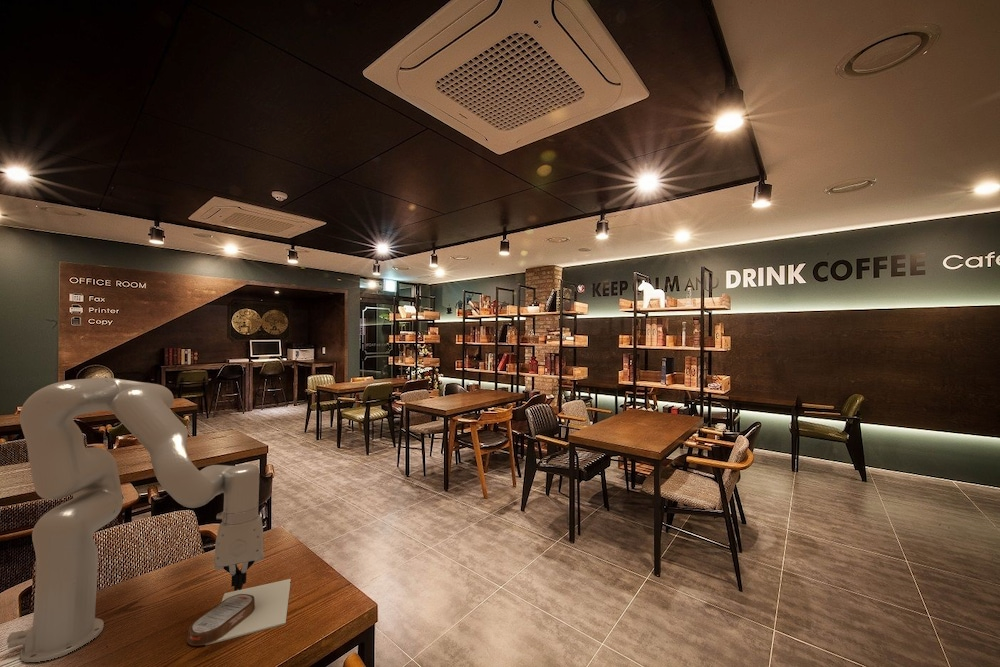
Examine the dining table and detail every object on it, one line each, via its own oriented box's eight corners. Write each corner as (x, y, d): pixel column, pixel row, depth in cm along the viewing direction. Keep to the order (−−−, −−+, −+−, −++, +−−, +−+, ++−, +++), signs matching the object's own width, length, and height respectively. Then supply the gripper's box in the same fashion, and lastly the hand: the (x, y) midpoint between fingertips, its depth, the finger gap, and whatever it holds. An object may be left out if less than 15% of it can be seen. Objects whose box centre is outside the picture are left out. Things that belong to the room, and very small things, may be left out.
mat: (205, 645, 87) (205, 643, 87) (224, 594, 105) (224, 593, 105) (285, 624, 94) (285, 622, 94) (290, 580, 112) (290, 578, 112)
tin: (177, 642, 87) (207, 651, 85) (179, 628, 87) (209, 636, 85) (235, 600, 102) (262, 607, 100) (236, 588, 102) (263, 595, 100)
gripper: (201, 526, 92) (198, 604, 91) (272, 515, 99) (270, 588, 98) (209, 514, 99) (206, 587, 98) (275, 504, 105) (273, 572, 105)
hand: (238, 587), depth 98 cm, fingers closed
